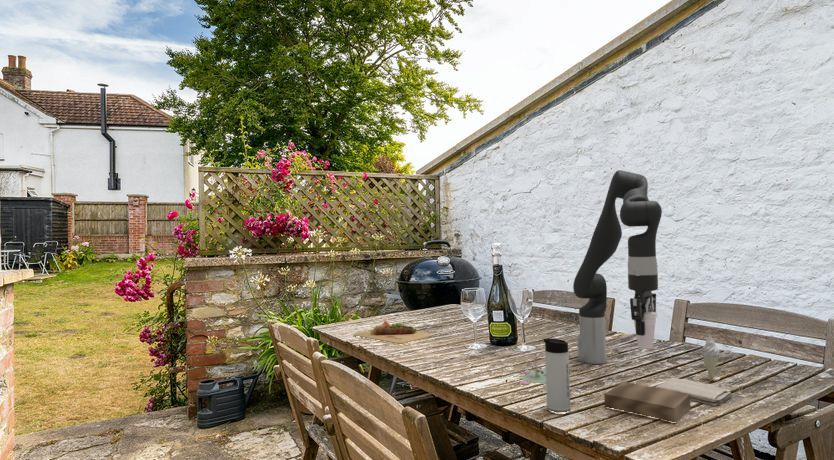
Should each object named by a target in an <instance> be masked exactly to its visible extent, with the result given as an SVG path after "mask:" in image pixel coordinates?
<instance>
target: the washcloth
mask: <svg viewBox="0 0 834 460" xmlns="http://www.w3.org/2000/svg"><path fill="white" fill-rule="evenodd" d="M655 388H661V389H666V390H671V391H677V392H682V393H688V394H690V401H691V400H693V401H692V402H696V401H697V402H696V403H700V402H701V404H705V405H708V406H713V407H717V406H719V405H722V404H723V403H724V402H726V401H727V400H730V398H731V397H732V392H731V391H728V389H727V388H723V387H722V388H721V387H717V386H715V385H712V383H703V382H698V381H694V380H687V379H681V378H677V377H672V378H668V379H667V380H666V381H665V382H662V383H661V384H658V385H656V386H655Z"/></svg>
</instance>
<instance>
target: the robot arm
mask: <svg viewBox="0 0 834 460" xmlns="http://www.w3.org/2000/svg"><path fill="white" fill-rule="evenodd" d="M648 187H649V186H648V179H647V177H646V176H644V175H642V174H640V173H639V174H638V173H635V172H630V171H626V170H621V169H620V170H619V169H618V170H617V171H615V172H614V174H613V176H612V178H611V181H610V184H609V187H608V190H607V192H606V193H607V194H606V197H605V200H604V204H603V208H602V211H601V213H600V216H599V217H598V221H597V224H596V225H595V228H594V232H593V233H592V237H591V239H590V243H589V246H588V248H587V251H586V253H585V256H584V258H583V261H582V263H581V265H580V267H579V269H578V271H577V273H576V276H575V278H574V280H573V285H572V288H573V293H574V295H575V296H576V297H577V298H580V299H588V301H587V303H585V304H584V305H583V306H581V307H579V310H578V316H579V317H578V318H579V319H578V320H579V323H578V324H579V335H578V336H577V350H578V351H577V353H578V355H577V356H578V361H580V362H583V363H586V364H589V365H590V364H591V365H592V364H593V365H600V364H601V365H602V364H606V363H607V339H606V335H607V334H606V309H607V300H608V299H607V295H608V294H607V293H608V288H607V287H608V286H607V281H606V279H605V277H604V275H602V274H601V273H597V272H598V271H599V269H600V268H601V267H602V266H603V265H604V264H605V263H606V262H607V261H608V260H609V259H611V257H612V256H613V255H614V254H615V253H616V251H617V250H618V247H619V244H620V242H621V238H622V236H623V231H622V226H621V223H622V224H623V225H624V226H626V227H647V228H646V230H645V232H642V233H639V234H635V235H630V236H629V237H628V238H627V254H628V255H627V256H628V257H627V258H628V259H627V285H628V287H627V288H628V289H629V290H631V291H634V296H633V297H632V298H629V303H630V304H629V305H630V315H631V316H630V317H631V321H633V322H634V321H636V331H635V335H636V334H637V335H641V336H643V335H645V322H644V321H645V314H647V313H648V311H649V312H656V313H657V294H656V293H654V291H657V290H658V289H659V277H658V275H659V274H658V261H657V250H656V249H657V248H656V244H657V243H656V241H657V233H658V229H659V225H660V222H661V218H662V215H663V210H662V206H661V205H660V204H659V202H658V201H656V200H649V197H648V192H649V191H648ZM617 199H622V205H621V207H620V211H619V217H618V214H617V209H616V200H617ZM619 219H620V221H621V223H620V221H619ZM634 312H635V313H634ZM637 314H639V316H638V315H637Z"/></svg>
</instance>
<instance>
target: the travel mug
mask: <svg viewBox="0 0 834 460" xmlns="http://www.w3.org/2000/svg"><path fill="white" fill-rule="evenodd" d="M543 342H544V346H545V348H544V352H545V354H544V356H545V357H544V358H545V359H544V360H545V361H544V362H545V370H546V390H545V391H546V409H549V410H551V411H554V412H567V411H570V410H571V388H570V387H571V386H570V357H569V351H570V350H569V343H568V342H567V341H566V340H563V339H560V338H559V339H558V338H543ZM570 412H571V411H570Z"/></svg>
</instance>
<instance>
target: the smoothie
mask: <svg viewBox="0 0 834 460" xmlns="http://www.w3.org/2000/svg"><path fill="white" fill-rule="evenodd" d="M634 313H635V312H634ZM637 315H638V316H639V314H637ZM656 318H658V313H657V311H656V312H649V311H648V313H647V314H645V321H644V322H645V335H643V336H641V335H637V334H636V333H635V335H636V341H637V347H638V348H639V349H642V350H652V349H653V347H654V340H655V330H656V329H655V328H656V321H657V320H656ZM633 324H634V331H635V332H636V321H634V320H633Z"/></svg>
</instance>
